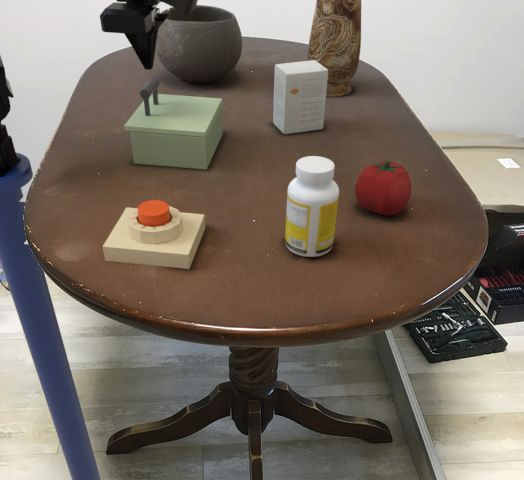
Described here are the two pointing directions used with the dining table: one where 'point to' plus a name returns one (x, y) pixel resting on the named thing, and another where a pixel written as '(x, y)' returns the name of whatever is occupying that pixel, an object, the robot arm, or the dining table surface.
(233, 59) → the bowl
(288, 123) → the small box
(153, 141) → the box
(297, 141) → the dining table surface
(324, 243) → the pill bottle
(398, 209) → the tomato
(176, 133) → the lid
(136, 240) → the release console
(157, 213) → the button
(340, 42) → the vase
